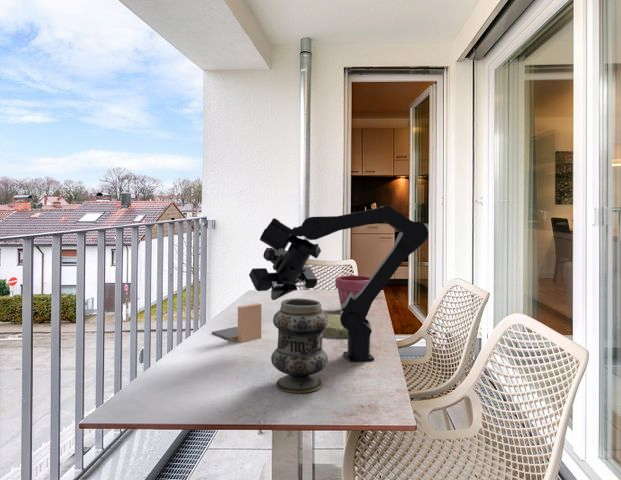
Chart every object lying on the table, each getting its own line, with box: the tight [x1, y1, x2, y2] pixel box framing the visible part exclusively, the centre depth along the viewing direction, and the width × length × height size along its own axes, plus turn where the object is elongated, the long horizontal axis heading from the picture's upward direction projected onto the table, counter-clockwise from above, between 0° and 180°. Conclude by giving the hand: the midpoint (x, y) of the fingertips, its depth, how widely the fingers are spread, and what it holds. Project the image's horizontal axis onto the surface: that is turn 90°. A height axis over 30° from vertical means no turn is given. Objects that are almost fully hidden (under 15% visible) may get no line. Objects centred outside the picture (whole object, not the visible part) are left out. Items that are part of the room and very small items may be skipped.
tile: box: [237, 302, 262, 344], centre depth 127 cm, size 2×7×10 cm, turn 136°
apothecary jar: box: [270, 297, 329, 394], centre depth 94 cm, size 12×12×18 cm
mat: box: [211, 326, 238, 341], centre depth 133 cm, size 10×9×1 cm
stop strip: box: [229, 335, 238, 343], centre depth 129 cm, size 1×10×1 cm, turn 135°
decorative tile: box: [323, 313, 348, 339], centre depth 140 cm, size 19×20×4 cm
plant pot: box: [334, 274, 372, 305], centre depth 164 cm, size 14×14×13 cm
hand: (272, 298), depth 122 cm, fingers closed
